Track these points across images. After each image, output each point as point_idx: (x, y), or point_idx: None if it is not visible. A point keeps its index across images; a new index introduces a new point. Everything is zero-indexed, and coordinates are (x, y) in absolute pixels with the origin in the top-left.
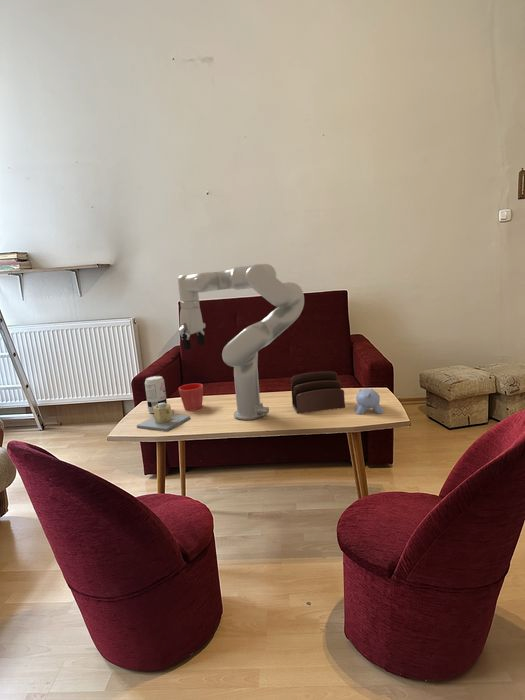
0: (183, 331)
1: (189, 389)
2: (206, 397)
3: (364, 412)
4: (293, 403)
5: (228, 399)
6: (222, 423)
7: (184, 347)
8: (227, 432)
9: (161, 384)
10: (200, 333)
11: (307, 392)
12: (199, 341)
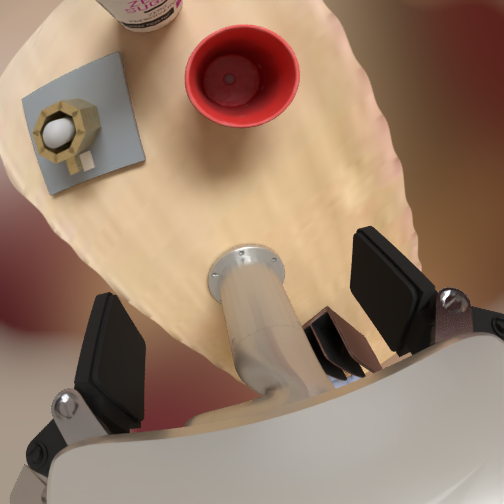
0: (106, 489)
1: (265, 43)
2: (335, 50)
3: None
4: (328, 313)
5: (341, 133)
6: (168, 265)
7: (98, 312)
8: (139, 308)
9: (132, 4)
10: (427, 347)
11: None
12: (369, 273)
